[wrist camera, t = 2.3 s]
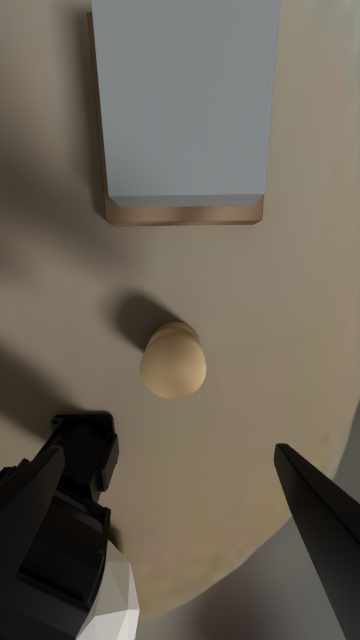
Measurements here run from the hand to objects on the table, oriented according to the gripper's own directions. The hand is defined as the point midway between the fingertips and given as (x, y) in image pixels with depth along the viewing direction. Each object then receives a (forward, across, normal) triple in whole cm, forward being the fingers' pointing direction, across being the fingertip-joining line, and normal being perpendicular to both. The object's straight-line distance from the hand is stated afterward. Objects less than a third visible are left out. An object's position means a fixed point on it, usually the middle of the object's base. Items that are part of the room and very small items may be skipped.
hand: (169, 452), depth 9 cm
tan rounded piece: (+12, 0, 0) cm, 12 cm away
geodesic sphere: (+12, +11, +29) cm, 33 cm away
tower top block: (+10, -1, -17) cm, 20 cm away
